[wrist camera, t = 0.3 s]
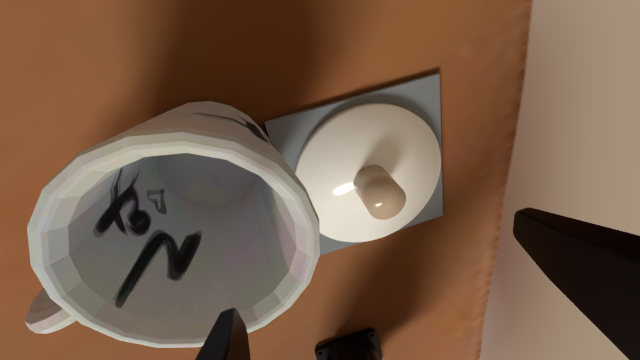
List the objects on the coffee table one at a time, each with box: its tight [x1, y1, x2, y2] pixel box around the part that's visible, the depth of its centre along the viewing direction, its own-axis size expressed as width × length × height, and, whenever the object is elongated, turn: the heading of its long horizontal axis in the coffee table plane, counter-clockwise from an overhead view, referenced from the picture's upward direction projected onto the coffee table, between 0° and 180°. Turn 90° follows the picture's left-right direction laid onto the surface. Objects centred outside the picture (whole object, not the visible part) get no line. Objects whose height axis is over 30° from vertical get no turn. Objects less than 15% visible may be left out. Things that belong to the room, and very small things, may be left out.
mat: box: [264, 73, 443, 256], centre depth 24 cm, size 12×12×1 cm
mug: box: [25, 101, 320, 348], centre depth 17 cm, size 10×15×10 cm
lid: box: [294, 102, 441, 242], centre depth 22 cm, size 11×11×4 cm
